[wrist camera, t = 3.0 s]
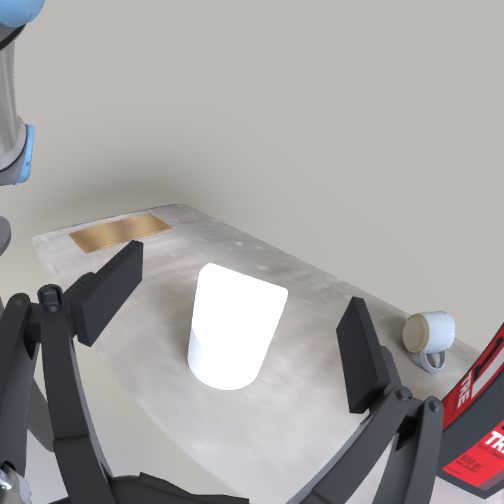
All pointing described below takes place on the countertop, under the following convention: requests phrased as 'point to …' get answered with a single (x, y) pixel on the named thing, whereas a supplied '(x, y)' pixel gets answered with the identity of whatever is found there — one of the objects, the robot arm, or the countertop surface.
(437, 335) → the ceramic mug
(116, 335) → the countertop surface
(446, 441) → the cleaning product box
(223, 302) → the cylinder with rectangular tab
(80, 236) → the tan rectangular plate
